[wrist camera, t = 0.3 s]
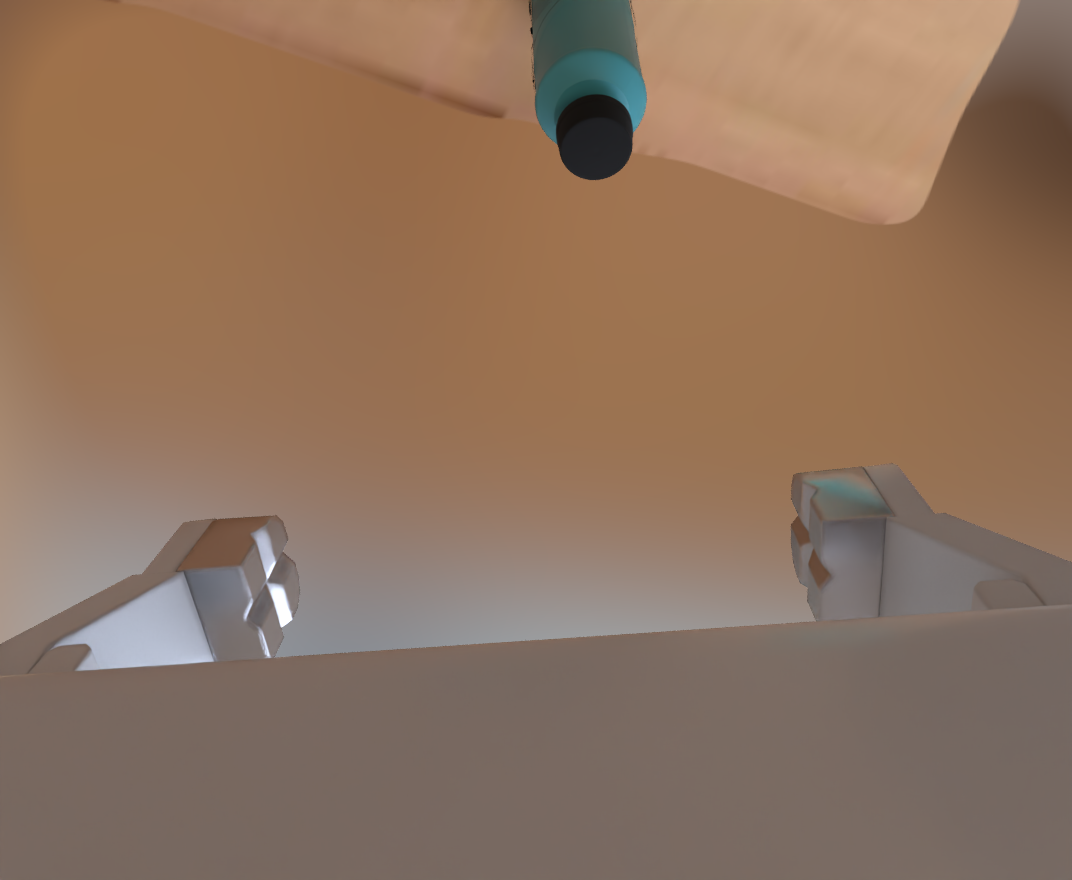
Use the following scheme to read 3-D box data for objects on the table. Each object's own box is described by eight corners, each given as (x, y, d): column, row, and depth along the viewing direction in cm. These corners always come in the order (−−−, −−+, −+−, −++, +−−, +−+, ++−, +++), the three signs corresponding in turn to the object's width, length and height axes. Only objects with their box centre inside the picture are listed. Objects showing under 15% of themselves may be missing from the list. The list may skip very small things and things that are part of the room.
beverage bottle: (559, -97, 54) (572, 70, 41) (646, -43, 56) (683, 129, 44) (510, -3, 58) (509, 172, 46) (593, 43, 61) (613, 220, 48)
